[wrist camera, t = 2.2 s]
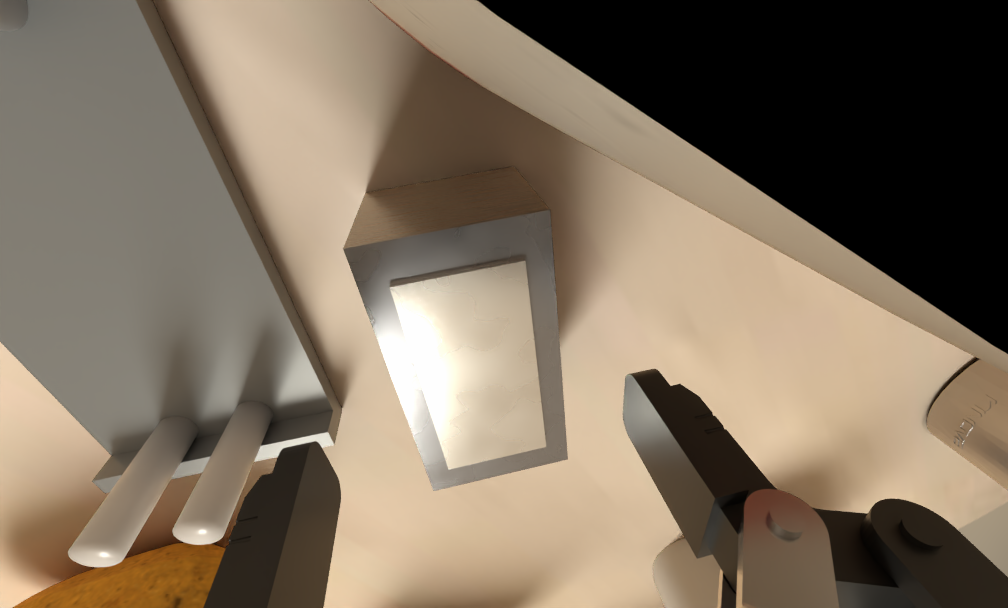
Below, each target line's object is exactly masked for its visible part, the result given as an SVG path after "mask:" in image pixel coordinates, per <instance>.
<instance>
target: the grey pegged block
mask: <svg viewBox="0 0 1008 608" xmlns="http://www.w3.org/2000/svg"><path fill="white" fill-rule="evenodd" d="M0 342H1V343H2V344H3V345H4V346H5V347H6V348H7V349H8V350H9V351H10V352H11V353H12V354H13V355H14V356H15V357H16V358H17V359H18V360H19V361H20V362H21V364H22V365H23V366H24V367H25V368H26V369H27V370H28V371H29V372H30V373H31V374H32V375H33V376H34V377H35V378H36V379H37V380H38V381H39V382H40V383H41V384H42V385H43V386H44V387H45V388H46V389H47V390H48V391H49V392H50V393H51V394H52V395H53V396H54V397H55V398H56V399H57V400H58V401H59V402H60V403H61V404H62V405H63V406H64V407H65V408H66V409H67V410H68V412H69V413H70V414H71V415H72V416H73V417H74V418H75V419H76V420H77V421H78V422H79V423H80V424H81V425H82V426H83V427H84V428H85V429H86V430H87V431H88V432H89V433H90V434H91V435H92V436H93V437H94V438H95V439H96V440H97V441H98V442H99V443H100V444H101V445H102V446H103V447H104V448H105V449H106V450H107V451H108V452H109V453H110V454H111V455H112V456H111V457H110V459H109V460H108V461H107V462H106V464H105V465H104V466H103V468H102V469H101V470H100V471H99V473H98V474H97V475H96V477H95V478H94V479H93V481H92V482H93V483H94V484H95V485H96V486H98V487H99V488H100V489H101V490H102V491H103V492H104V493H109V494H108V495H107V497H106V498H105V500H104V501H103V502H102V504H101V505H100V507H99V508H98V510H97V511H96V512H95V514H94V515H93V517H92V518H91V519H90V521H89V522H88V524H87V525H86V526H85V528H84V529H83V531H82V532H81V533H80V535H79V536H78V538H77V539H76V540H75V542H74V543H73V545H72V546H71V547H70V549H69V550H68V556H69V557H70V559H72V560H73V561H74V562H76V563H79V564H81V565H85V566H90V567H109V566H113V565H116V564H118V563H120V562H122V561H123V559H124V558H125V556H126V554H127V553H128V551H129V549H130V548H131V546H132V544H133V543H134V541H135V539H136V538H137V536H138V534H139V532H140V531H141V529H142V527H143V526H144V524H145V522H146V521H147V519H148V517H149V516H150V514H151V512H152V510H153V509H154V507H155V505H156V504H157V502H158V500H159V499H160V497H161V495H162V494H163V492H164V490H165V489H166V487H167V485H168V483H169V482H170V480H171V479H176V478H180V477H185V476H190V475H195V474H199V473H202V474H201V476H200V478H199V480H198V482H197V484H196V485H195V487H194V489H193V491H192V493H191V495H190V497H189V499H188V501H187V503H186V504H185V506H184V508H183V510H182V512H181V514H180V516H179V518H178V520H177V522H176V523H175V525H174V527H173V530H172V531H173V535H174V536H175V537H176V538H177V539H178V540H180V541H182V542H185V543H188V544H194V545H205V544H211V543H214V542H217V541H219V540H220V539H221V538H222V537H223V536H224V534H225V531H226V529H227V526H228V524H229V522H230V519H231V517H232V514H233V512H234V509H235V507H236V505H237V502H238V500H239V497H240V495H241V492H242V490H243V488H244V485H245V483H246V480H247V478H248V475H249V473H250V471H251V468H252V466H253V463H254V462H256V461H261V460H266V459H270V458H275V457H278V455H279V453H280V451H281V450H282V449H283V448H286V447H290V446H295V445H300V444H304V443H309V442H313V441H317V442H318V443H319V444H320V445H321V447H327V446H332V445H334V444H335V440H336V436H337V431H338V427H339V422H340V418H341V413H342V408H341V406H340V404H339V402H338V400H337V397H336V395H335V393H334V391H333V389H332V387H331V384H330V382H329V380H328V378H327V376H326V374H325V372H324V369H323V367H322V365H321V363H320V361H319V359H318V356H317V354H316V352H315V350H314V348H313V346H312V344H311V341H310V339H309V337H308V335H307V333H306V331H305V328H304V326H303V324H302V322H301V320H300V318H299V316H298V313H297V311H296V309H295V307H294V305H293V303H292V300H291V298H290V296H289V294H288V292H287V290H286V287H285V285H284V283H283V281H282V279H281V277H280V275H279V272H278V270H277V268H276V266H275V264H274V262H273V259H272V257H271V255H270V253H269V251H268V249H267V247H266V244H265V242H264V240H263V238H262V236H261V234H260V231H259V229H258V227H257V225H256V223H255V221H254V219H253V216H252V214H251V212H250V210H249V208H248V206H247V203H246V201H245V199H244V197H243V195H242V193H241V191H240V188H239V186H238V184H237V182H236V180H235V178H234V175H233V173H232V171H231V169H230V167H229V165H228V163H227V160H226V158H225V156H224V154H223V152H222V150H221V147H220V145H219V143H218V141H217V139H216V137H215V135H214V132H213V130H212V128H211V126H210V124H209V122H208V119H207V117H206V115H205V113H204V111H203V109H202V107H201V104H200V102H199V100H198V98H197V96H196V94H195V91H194V89H193V87H192V85H191V83H190V81H189V79H188V76H187V74H186V72H185V70H184V68H183V66H182V63H181V61H180V59H179V57H178V55H177V53H176V51H175V48H174V46H173V44H172V42H171V40H170V38H169V35H168V33H167V31H166V29H165V27H164V25H163V23H162V20H161V18H160V16H159V14H158V12H157V10H156V7H155V5H154V3H153V1H152V0H0Z"/></svg>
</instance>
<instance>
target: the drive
mask: <svg viewBox="0 0 1008 608" xmlns="http://www.w3.org/2000/svg"><path fill="white" fill-rule="evenodd" d="M343 249H344V252H345V255H346V257H347V260H348V263H349V265H350V268H351V271H352V273H353V276H354V279H355V281H356V284H357V287H358V289H359V292H360V295H361V298H362V300H363V303H364V306H365V308H366V311H367V314H368V316H369V319H370V322H371V324H372V327H373V330H374V332H375V335H376V338H377V340H378V343H379V346H380V348H381V351H382V354H383V356H384V359H385V362H386V365H387V367H388V370H389V373H390V375H391V378H392V381H393V383H394V386H395V389H396V391H397V394H398V397H399V399H400V402H401V405H402V407H403V410H404V413H405V415H406V418H407V421H408V423H409V426H410V429H411V432H412V434H413V437H414V440H415V442H416V445H417V448H418V450H419V453H420V456H421V458H422V461H423V464H424V466H425V469H426V472H427V474H428V477H429V480H430V482H431V485H432V488H433V491H436V490H440V489H445V488H449V487H453V486H457V485H461V484H466V483H470V482H474V481H478V480H482V479H487V478H491V477H495V476H499V475H504V474H508V473H512V472H516V471H520V470H525V469H529V468H533V467H537V466H541V465H546V464H550V463H554V462H558V461H562V460H567V459H568V456H567V442H566V428H565V413H564V399H563V385H562V371H561V357H560V342H559V328H558V314H557V300H556V285H555V271H554V257H553V243H552V229H551V214H550V209H549V208H548V207H547V205H546V204H545V203H544V202H543V201H542V199H541V198H540V197H539V196H538V195H537V193H536V192H535V191H534V190H533V189H532V188H531V186H530V185H529V184H528V183H527V182H526V180H525V179H524V178H523V177H522V176H521V174H520V173H519V172H518V171H517V170H516V168H515V167H514V166H513V167H507V168H501V169H496V170H490V171H484V172H479V173H473V174H467V175H462V176H456V177H450V178H445V179H439V180H433V181H428V182H422V183H416V184H411V185H405V186H400V187H394V188H388V189H383V190H377V191H371V192H366V193H365V195H364V198H363V200H362V203H361V205H360V208H359V210H358V213H357V215H356V218H355V220H354V223H353V226H352V228H351V231H350V233H349V236H348V238H347V241H346V243H345V246H344V248H343Z"/></svg>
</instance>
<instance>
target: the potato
mask: <svg viewBox="0 0 1008 608" xmlns="http://www.w3.org/2000/svg"><path fill="white" fill-rule="evenodd" d="M225 549H226V548H222V547H219V546H216V545H213V544H205V545H194V544H188V543H177V544H172V545H169V546H165V547H162V548H158V549H155V550H151V551H148V552H145V553H141V554H138V555H135V556H132V557H129V558H126V559H123V561H122V562H120V563H118V564H116V565H113V566H109V567H98V568H95V569H93V570H90V571H87V572H84V573H81V574H78V575H76V576H73V577H71V578H69V579H67V580H64V581H62V582H60V583H58V584H55V585H53V586H51V587H49V588H47V589H45V590H43V591H41V592H39V593H37V594H35V595H33V596H31V597H30V598H28V599H26V600H24V601H23V602H21V603H20V604H18V605H16V606H15V607H13V608H203V607H204V604H205V602H206V599H207V596H208V594H209V591H210V589H211V586H212V583H213V581H214V578H215V575H216V573H217V570H218V567H219V565H220V562H221V559H222V557H223V554H224V552H225Z"/></svg>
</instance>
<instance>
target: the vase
mask: <svg viewBox="0 0 1008 608" xmlns="http://www.w3.org/2000/svg"><path fill="white" fill-rule="evenodd" d="M369 1H370V2H371V3H372V4H373V5H374V6H375V7H376V8H378V9H379V10H380V11H381V12H382V13H383V14H384V15H385V16H386V17H387V18H389V19H390V20H391V21H392V22H393V23H395V24H396V25H397V26H398V27H400V28H401V29H402V30H403V31H405V32H406V33H407V34H408V35H409V36H411V37H412V38H413V39H414V40H416V41H417V42H418V43H419V44H421V45H422V46H423V47H424V48H426V49H427V50H428V51H429V52H431V53H432V54H434V55H435V56H437V57H438V58H440V59H441V60H442V61H444V62H445V63H447V64H448V65H450V66H451V67H453V68H454V69H456V70H457V71H458V72H460V73H461V74H463V75H464V76H466V77H467V78H469V79H471V80H472V81H474V82H475V83H477V84H479V85H481V86H482V87H484V88H486V89H488V90H489V91H491V92H493V93H495V94H496V95H498V96H500V97H501V98H503V99H505V100H507V101H508V102H510V103H512V104H514V105H515V106H517V107H519V108H521V109H522V110H524V111H526V112H528V113H529V114H531V115H533V116H535V117H536V118H538V119H540V120H542V121H543V122H545V123H547V124H549V125H551V126H552V127H554V128H556V129H558V130H560V131H562V132H563V133H565V134H567V135H569V136H571V137H572V138H574V139H576V140H578V141H580V142H581V143H583V144H585V145H587V146H589V147H590V148H592V149H594V150H596V151H598V152H600V153H601V154H603V155H605V156H607V157H609V158H610V159H612V160H614V161H616V162H618V163H620V164H621V165H623V166H625V167H627V168H629V169H630V170H632V171H634V172H636V173H638V174H640V175H641V176H643V177H645V178H647V179H649V180H650V181H652V182H654V183H656V184H658V185H660V186H661V187H663V188H665V189H667V190H669V191H670V192H672V193H674V194H676V195H678V196H680V197H681V198H683V199H685V200H687V201H689V202H690V203H692V204H694V205H696V206H698V207H700V208H701V209H703V210H705V211H707V212H709V213H711V214H712V215H714V216H716V217H718V218H720V219H721V220H723V221H725V222H727V223H729V224H731V225H732V226H734V227H736V228H738V229H740V230H741V231H743V232H745V233H747V234H749V235H751V236H752V237H754V238H756V239H758V240H760V241H761V242H763V243H765V244H767V245H769V246H771V247H772V248H774V249H776V250H778V251H780V252H781V253H783V254H785V255H787V256H789V257H791V258H792V259H794V260H796V261H798V262H800V263H801V264H803V265H805V266H807V267H809V268H811V269H812V270H814V271H816V272H818V273H820V274H821V275H823V276H825V277H827V278H829V279H831V280H832V281H834V282H836V283H838V284H840V285H842V286H843V287H845V288H847V289H849V290H851V291H852V292H854V293H856V294H858V295H860V296H862V297H863V298H865V299H867V300H869V301H871V302H872V303H874V304H876V305H878V306H880V307H882V308H883V309H885V310H887V311H889V312H891V313H892V314H894V315H896V316H898V317H900V318H902V319H904V320H906V321H908V322H910V323H912V324H914V325H915V326H917V327H919V328H921V329H923V330H925V331H927V332H929V333H931V334H933V335H935V336H937V337H939V338H940V339H942V340H944V341H946V342H948V343H950V344H952V345H954V346H956V347H958V348H960V349H962V350H963V351H965V352H967V353H969V354H971V355H973V356H975V357H977V358H979V359H981V360H983V361H985V362H987V363H988V364H990V365H992V366H994V367H996V368H998V369H1000V370H1002V371H1004V372H1006V373H1008V0H369Z"/></svg>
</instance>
